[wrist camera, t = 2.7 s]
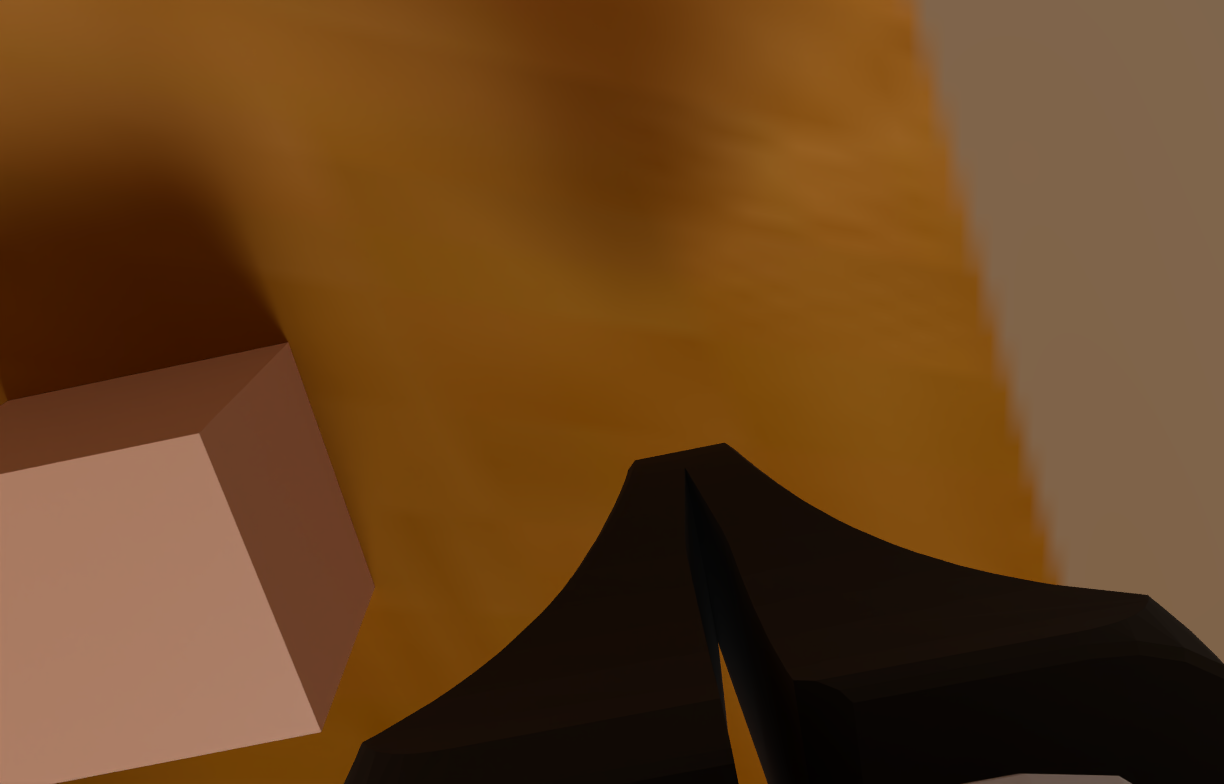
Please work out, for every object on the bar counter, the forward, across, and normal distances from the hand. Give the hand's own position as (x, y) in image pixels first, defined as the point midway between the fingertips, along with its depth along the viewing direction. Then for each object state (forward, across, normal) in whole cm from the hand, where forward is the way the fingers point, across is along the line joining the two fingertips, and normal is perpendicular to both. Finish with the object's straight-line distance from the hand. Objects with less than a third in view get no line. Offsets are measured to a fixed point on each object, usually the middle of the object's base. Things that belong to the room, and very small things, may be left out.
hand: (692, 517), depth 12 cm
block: (+4, +9, 0) cm, 10 cm away
